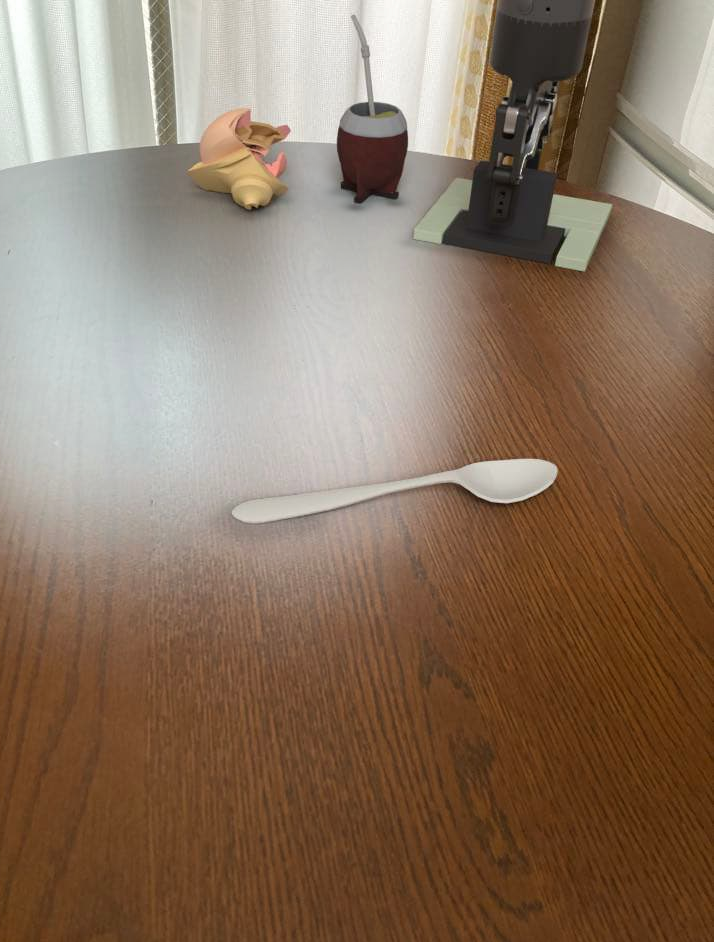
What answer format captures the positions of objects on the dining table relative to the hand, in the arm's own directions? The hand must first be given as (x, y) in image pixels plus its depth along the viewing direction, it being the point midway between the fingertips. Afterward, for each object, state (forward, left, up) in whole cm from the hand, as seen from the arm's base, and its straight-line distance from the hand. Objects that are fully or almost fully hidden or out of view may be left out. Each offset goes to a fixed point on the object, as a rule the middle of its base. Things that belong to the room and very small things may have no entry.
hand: (511, 206), depth 84 cm
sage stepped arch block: (0, -4, -3) cm, 5 cm away
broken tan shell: (+27, +1, -3) cm, 27 cm away
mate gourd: (+16, -6, -3) cm, 17 cm away
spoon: (-3, +40, -3) cm, 41 cm away
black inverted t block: (0, 0, -3) cm, 3 cm away
